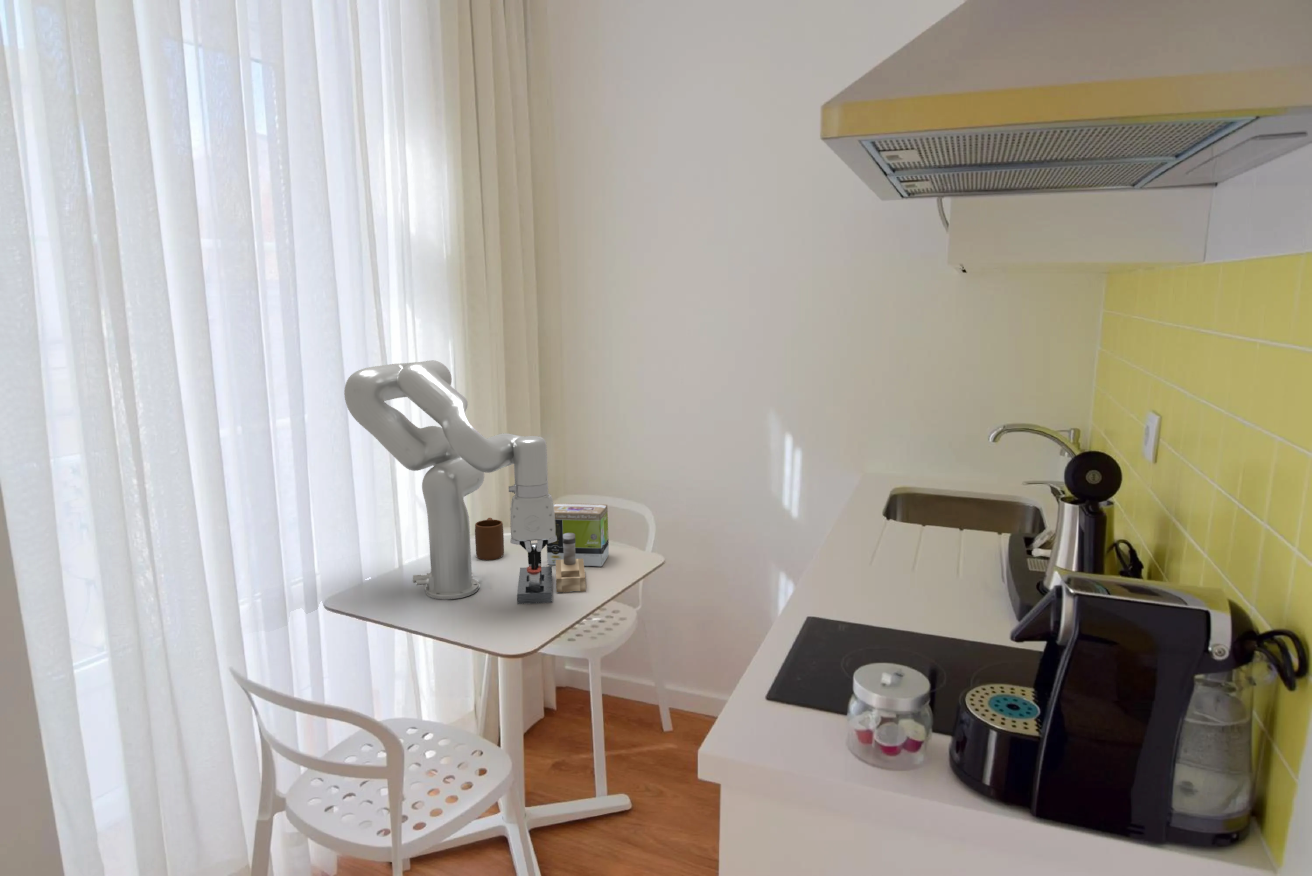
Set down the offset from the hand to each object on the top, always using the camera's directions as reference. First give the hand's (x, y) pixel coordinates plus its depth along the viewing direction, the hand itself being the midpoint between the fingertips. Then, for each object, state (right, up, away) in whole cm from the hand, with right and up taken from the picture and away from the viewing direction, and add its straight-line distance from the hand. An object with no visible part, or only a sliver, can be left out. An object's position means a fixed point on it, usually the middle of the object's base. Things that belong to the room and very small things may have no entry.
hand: (534, 566), depth 183 cm
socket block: (-1, -7, +8) cm, 10 cm away
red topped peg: (0, -5, +1) cm, 6 cm away
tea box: (+7, -3, +29) cm, 30 cm away
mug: (-18, -2, +35) cm, 39 cm away
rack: (+7, -6, +13) cm, 16 cm away
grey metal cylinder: (-1, -7, +9) cm, 11 cm away
